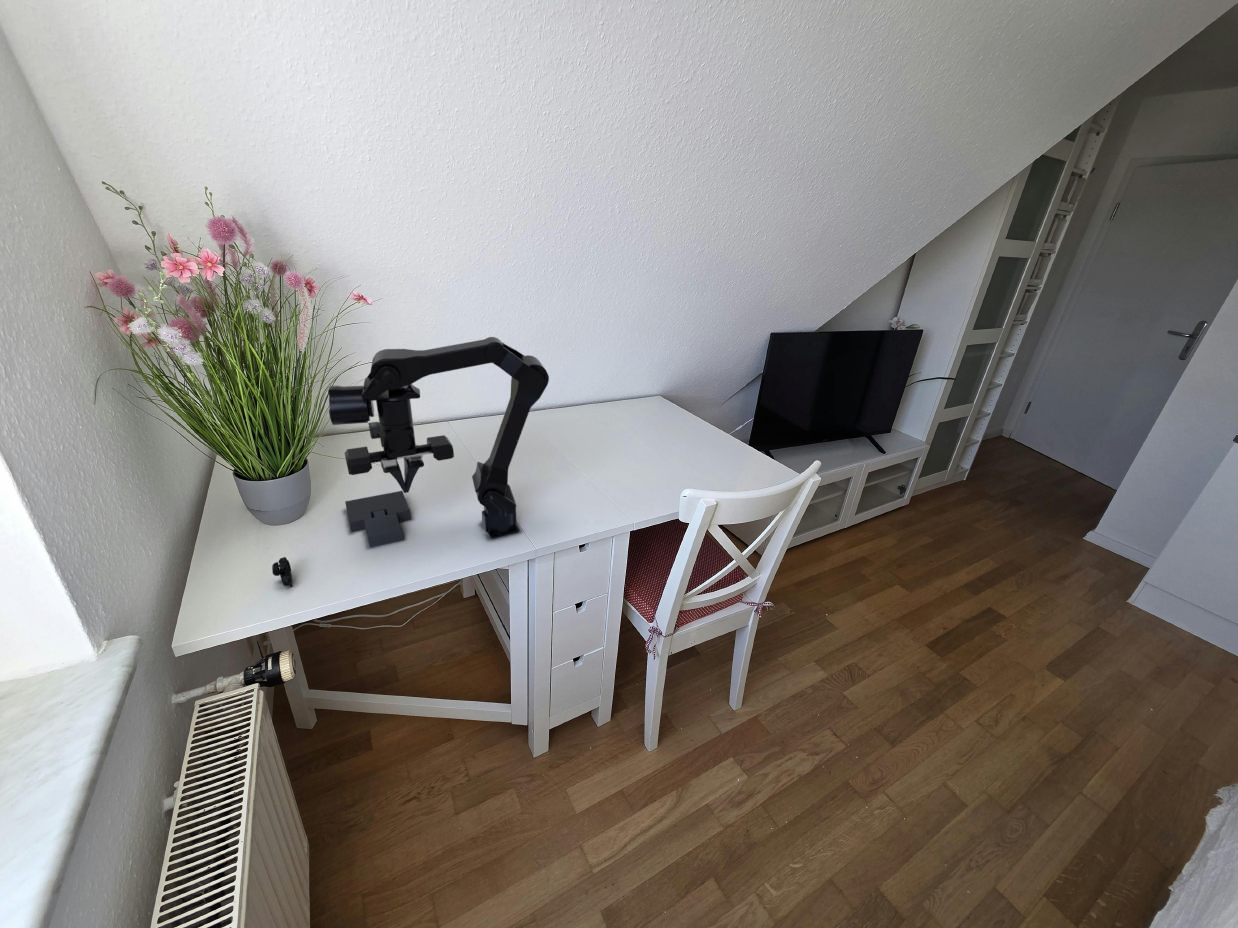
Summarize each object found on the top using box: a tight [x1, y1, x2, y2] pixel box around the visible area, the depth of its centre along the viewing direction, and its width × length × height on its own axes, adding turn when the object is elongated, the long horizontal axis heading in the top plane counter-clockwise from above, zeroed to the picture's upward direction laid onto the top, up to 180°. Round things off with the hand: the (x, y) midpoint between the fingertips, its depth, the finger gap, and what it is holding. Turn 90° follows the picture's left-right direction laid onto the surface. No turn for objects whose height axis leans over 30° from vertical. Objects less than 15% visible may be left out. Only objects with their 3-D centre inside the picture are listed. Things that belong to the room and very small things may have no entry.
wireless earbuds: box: [271, 556, 294, 588], centre depth 93 cm, size 7×2×5 cm, turn 32°
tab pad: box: [364, 510, 404, 548], centre depth 109 cm, size 6×9×2 cm
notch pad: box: [344, 490, 411, 533], centre depth 114 cm, size 12×9×2 cm
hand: (406, 491), depth 102 cm, fingers closed
